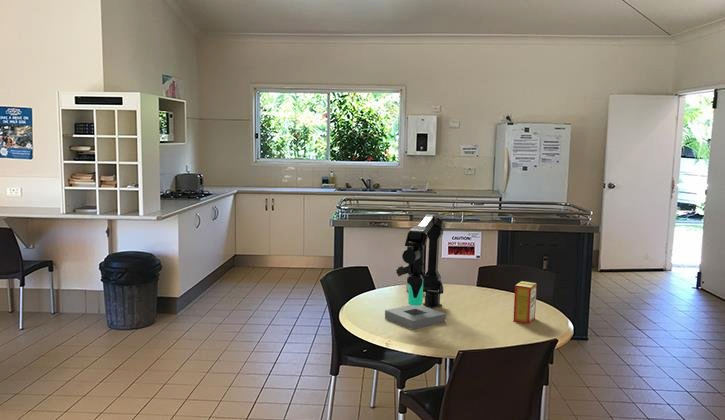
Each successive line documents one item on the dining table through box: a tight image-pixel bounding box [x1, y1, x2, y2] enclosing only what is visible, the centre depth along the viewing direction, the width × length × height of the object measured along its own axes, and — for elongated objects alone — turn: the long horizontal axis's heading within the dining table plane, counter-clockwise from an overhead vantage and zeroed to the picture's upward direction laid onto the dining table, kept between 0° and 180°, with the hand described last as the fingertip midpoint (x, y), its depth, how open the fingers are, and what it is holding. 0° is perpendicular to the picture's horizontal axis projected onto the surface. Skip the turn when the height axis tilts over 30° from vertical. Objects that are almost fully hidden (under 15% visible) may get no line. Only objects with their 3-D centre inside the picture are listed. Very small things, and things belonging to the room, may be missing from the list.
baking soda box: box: [513, 280, 538, 325], centre depth 250 cm, size 10×6×16 cm
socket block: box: [384, 305, 447, 330], centre depth 247 cm, size 18×18×4 cm
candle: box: [407, 284, 424, 306], centre depth 246 cm, size 6×6×12 cm
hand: (415, 295), depth 246 cm, fingers closed on candle, 7 cm apart
